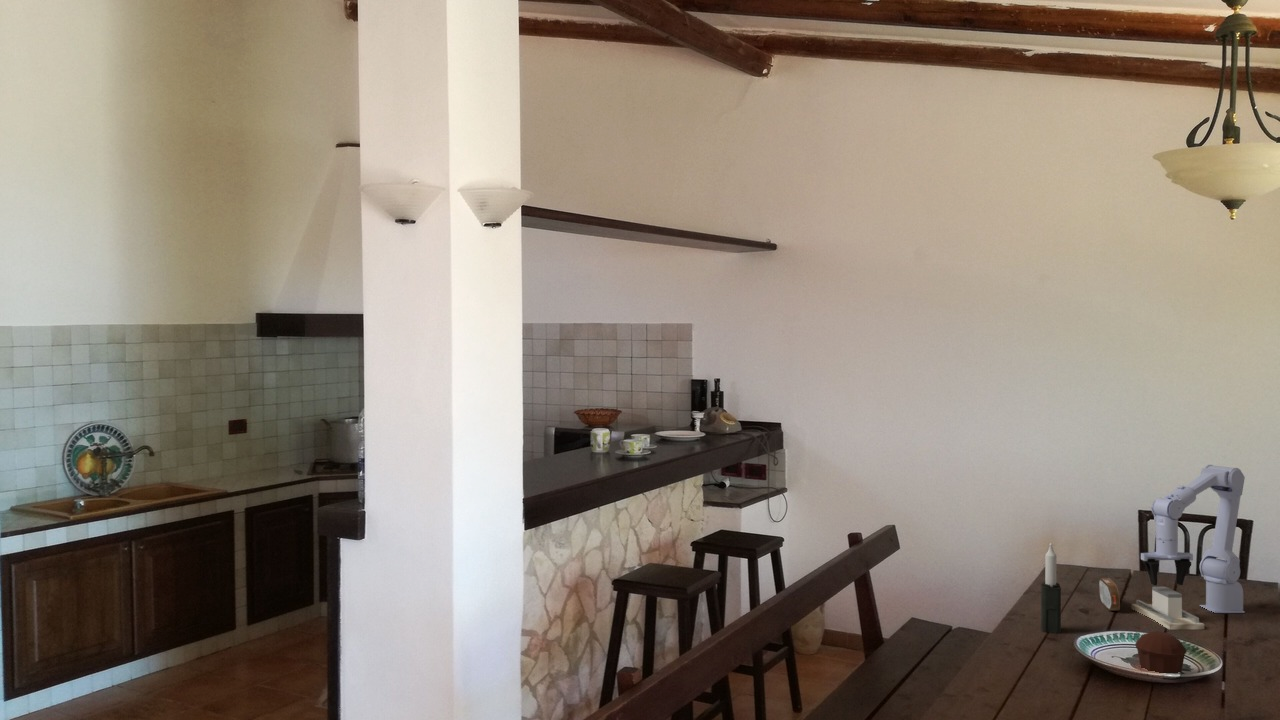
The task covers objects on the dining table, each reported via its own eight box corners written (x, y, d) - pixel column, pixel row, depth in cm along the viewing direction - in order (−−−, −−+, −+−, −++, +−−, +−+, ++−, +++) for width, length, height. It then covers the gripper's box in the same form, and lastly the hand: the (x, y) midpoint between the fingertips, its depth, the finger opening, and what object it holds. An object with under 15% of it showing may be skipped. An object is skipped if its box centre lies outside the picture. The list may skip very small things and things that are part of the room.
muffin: (1126, 665, 254) (1127, 626, 253) (1171, 665, 253) (1171, 626, 253) (1149, 681, 242) (1149, 640, 242) (1195, 681, 241) (1195, 640, 241)
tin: (1121, 614, 301) (1121, 586, 301) (1109, 613, 301) (1109, 586, 301) (1108, 601, 316) (1108, 575, 315) (1097, 601, 316) (1097, 574, 316)
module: (1165, 609, 300) (1165, 586, 300) (1181, 618, 291) (1181, 594, 291) (1152, 609, 300) (1152, 586, 300) (1168, 618, 291) (1168, 594, 291)
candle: (1059, 628, 286) (1059, 542, 286) (1061, 633, 281) (1061, 545, 281) (1040, 627, 288) (1040, 541, 287) (1041, 632, 283) (1041, 544, 282)
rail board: (1163, 608, 307) (1163, 598, 306) (1204, 629, 285) (1204, 618, 284) (1131, 608, 307) (1131, 599, 306) (1169, 629, 285) (1169, 619, 284)
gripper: (1149, 541, 291) (1149, 587, 291) (1198, 541, 291) (1198, 587, 291) (1137, 536, 298) (1137, 582, 298) (1185, 536, 298) (1185, 581, 298)
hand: (1166, 584), depth 295 cm, fingers open, 7 cm apart
